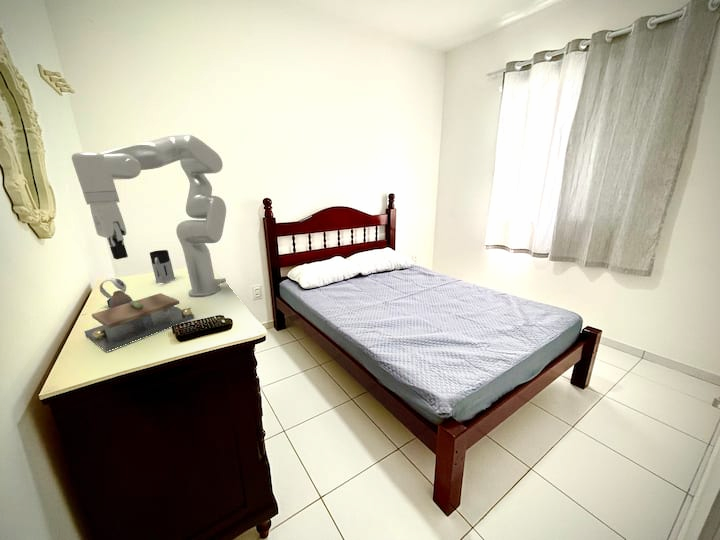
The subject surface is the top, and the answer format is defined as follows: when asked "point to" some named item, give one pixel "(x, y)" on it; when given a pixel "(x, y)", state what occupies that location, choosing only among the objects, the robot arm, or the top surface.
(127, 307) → the plate
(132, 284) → the top surface
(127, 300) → the vase
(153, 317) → the base
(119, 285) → the watch
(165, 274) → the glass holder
